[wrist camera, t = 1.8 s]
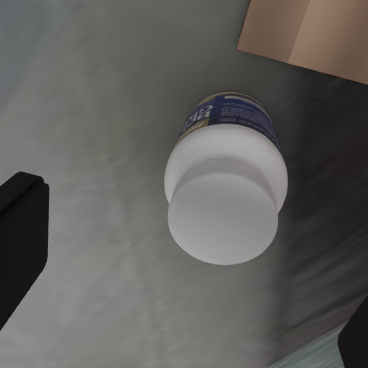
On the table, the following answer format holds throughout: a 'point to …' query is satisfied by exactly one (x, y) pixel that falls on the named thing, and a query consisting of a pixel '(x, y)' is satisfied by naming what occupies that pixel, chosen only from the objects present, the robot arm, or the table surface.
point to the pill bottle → (226, 180)
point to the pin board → (310, 34)
